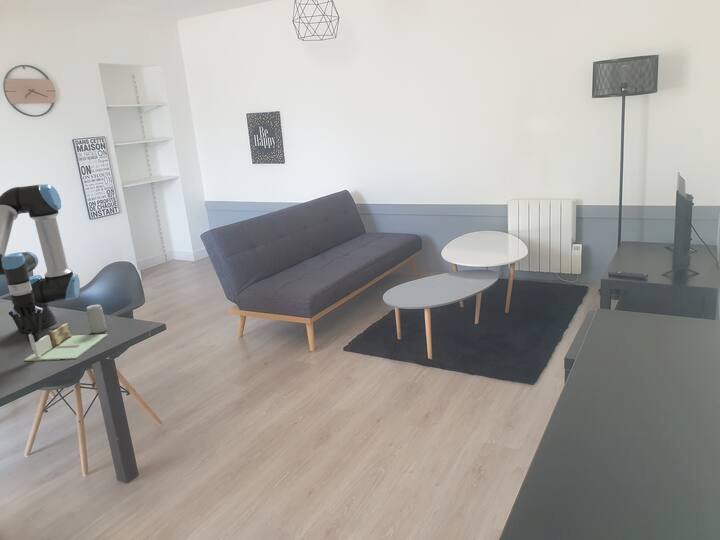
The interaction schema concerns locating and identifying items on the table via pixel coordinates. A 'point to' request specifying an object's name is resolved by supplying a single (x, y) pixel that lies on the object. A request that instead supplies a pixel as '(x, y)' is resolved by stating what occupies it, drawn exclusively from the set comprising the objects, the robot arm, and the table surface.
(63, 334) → the fence fixed
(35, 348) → the panel
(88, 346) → the card
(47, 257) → the robot arm
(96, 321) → the beverage can
